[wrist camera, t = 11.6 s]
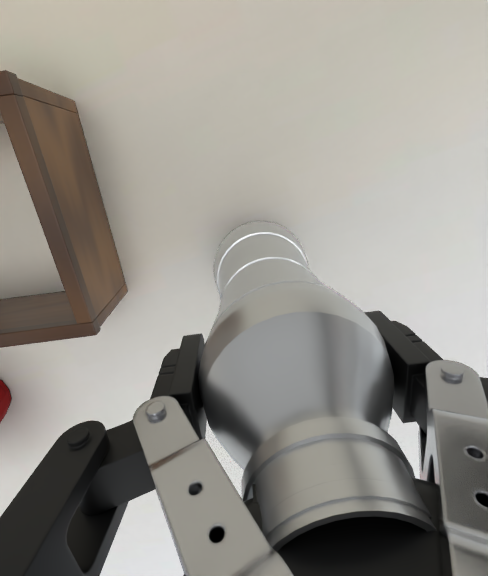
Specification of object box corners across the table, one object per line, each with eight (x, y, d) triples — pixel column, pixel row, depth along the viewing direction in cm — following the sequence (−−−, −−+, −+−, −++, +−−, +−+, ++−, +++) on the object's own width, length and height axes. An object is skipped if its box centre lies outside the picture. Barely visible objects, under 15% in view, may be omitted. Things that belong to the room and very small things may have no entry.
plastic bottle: (220, 303, 25) (197, 687, 7) (209, 218, 23) (125, 463, 4) (300, 295, 25) (493, 654, 7) (297, 209, 23) (594, 413, 4)
